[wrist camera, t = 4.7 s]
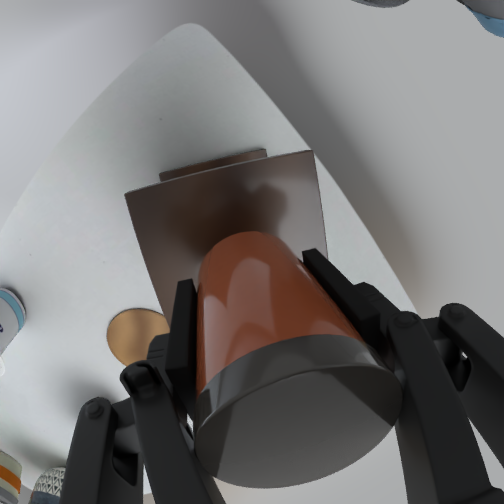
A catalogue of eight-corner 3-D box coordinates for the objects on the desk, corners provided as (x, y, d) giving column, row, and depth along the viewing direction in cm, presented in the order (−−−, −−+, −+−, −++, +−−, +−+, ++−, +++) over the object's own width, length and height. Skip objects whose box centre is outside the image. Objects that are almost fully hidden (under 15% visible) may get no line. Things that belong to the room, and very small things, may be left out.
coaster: (168, 300, 37) (168, 302, 37) (193, 364, 41) (193, 366, 41) (95, 316, 36) (94, 318, 36) (126, 375, 40) (125, 377, 40)
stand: (264, 148, 33) (313, 150, 18) (282, 246, 37) (333, 312, 22) (160, 173, 32) (123, 194, 17) (186, 269, 36) (178, 351, 21)
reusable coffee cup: (-15, 446, 44) (-28, 481, 30) (5, 448, 44) (-10, 487, 30) (13, 470, 49) (2, 504, 35) (34, 473, 49) (24, 511, 35)
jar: (294, 217, 15) (419, 328, 6) (308, 312, 17) (390, 452, 8) (182, 244, 15) (155, 402, 5) (211, 337, 17) (227, 500, 7)
